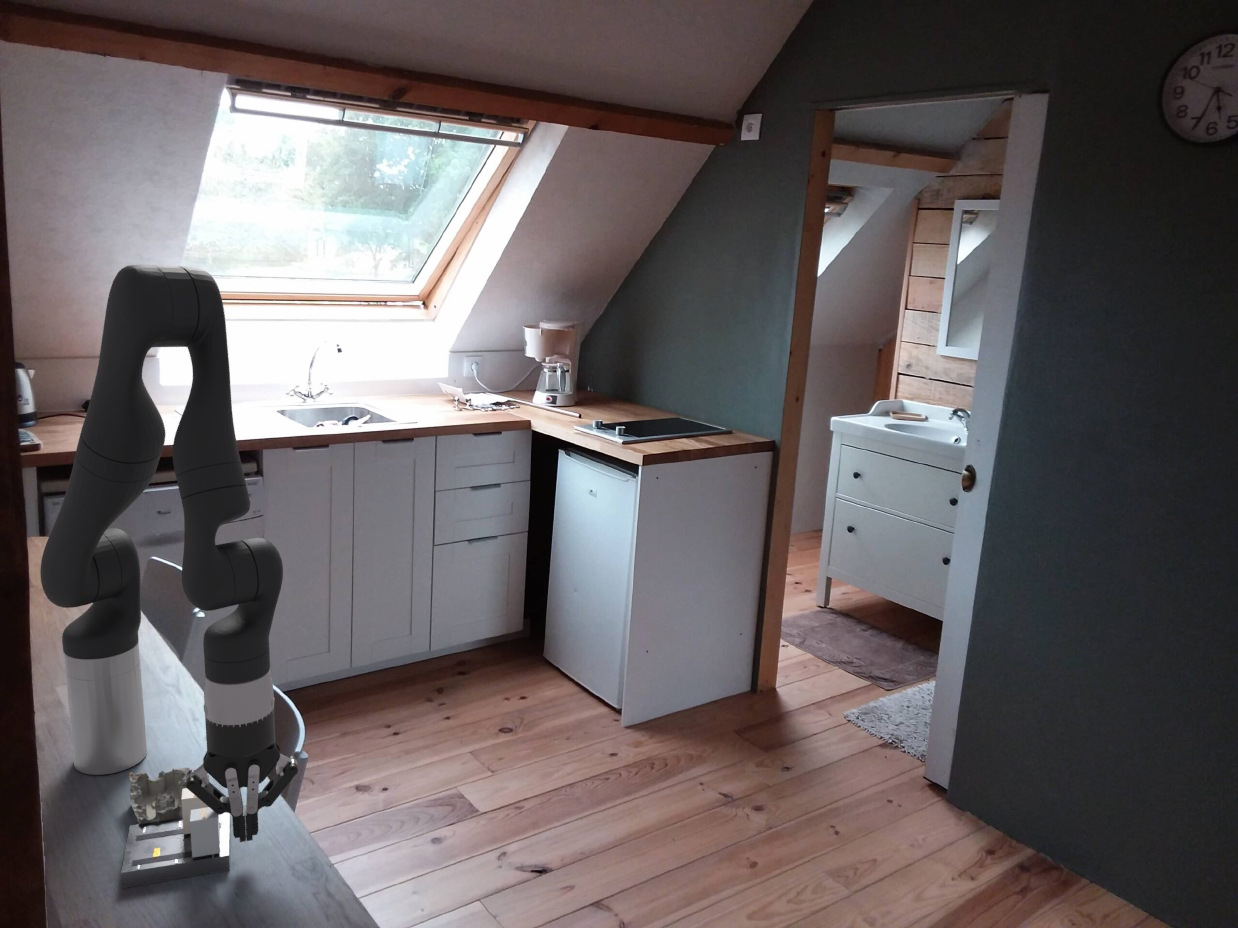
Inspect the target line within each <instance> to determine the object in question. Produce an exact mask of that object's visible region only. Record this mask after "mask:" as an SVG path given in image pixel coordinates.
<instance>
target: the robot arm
mask: <svg viewBox="0 0 1238 928" xmlns="http://www.w3.org/2000/svg"><path fill="white" fill-rule="evenodd" d="M223 302H224V301H223V299H222V294H221V292H220V288H219V286H218V283H217V282H216V280H215V279H214V277H213V276H212V274H210V272H209V271H207V270H205V269H202V268H200V267H199V268H198V267H193V266H181V265H160V264H159V265H158V264H131V265H129V264H128V265H126V266H124V267H123V268H121V269H120V270H119V271H118V272H117V273H116V276H115V277H114V279H113V281H112V284H111V286H110V289H109V292H108V298H107V302H106V309H105V316H104V322H103V323H104V324H103V329H102V336H101V344H100V351H99V358H98V365H97V370H96V375H95V380H94V384H93V387H92V391H91V396H90V399H89V404H88V408H87V411H86V414H85V417H84V421H83V424H82V427H81V431H80V434H79V438H78V442H77V446H76V449H75V455H74V459H73V464H72V468H71V473H70V477H69V480H68V484H67V487H66V491H65V494H64V497H63V501H62V504H61V506H60V509H59V512H58V514H57V517H56V518H55V521H54V524H53V526H52V527H51V532H50V534H49V536H48V539H47V541H46V543H45V546H44V549H43V553H42V557H41V561H40V571H39V572H40V583H41V586H42V590H43V593H44V594H45V597H46V598H47V599H48V600H49V602H51V603H52V604H54V605H55V606H57V607H60V608H65V609H70V608H71V609H72V608H78V607H82V606H87V605H90V604H91V605H90V606H89V608H88V609H87V610H86V611H85V612H83V613H82V614H81V615H80V616H78V617H77V618H75V620H73V621H72V622H70V623H69V624H68V625H67V626H66V627H65V628H64V630H63V631H62V635H61V637H62V638H61V641H62V651H63V652H62V653H63V662H64V663H63V665H64V672H65V681H66V682H65V683H66V693H67V704H68V716H69V725H70V735H71V747H72V757H73V765H74V766H73V767H74V768H75V769H76V771H78V772H80V773H83V774H86V775H90V776H93V775H94V776H95V775H96V776H99V775H100V776H101V775H110V774H115V773H119V772H123V771H125V770H127V769H130V768H132V767H134V766H136V765H138V764H139V763H140V762H142V761H143V760H144V759H145V757H146V756H147V754H148V753H147V751H148V746H147V736H146V735H147V734H146V718H145V707H144V695H143V692H144V691H143V683H142V679H143V678H142V669H141V667H142V665H141V659H140V658H141V656H140V645H139V644H140V643H139V641H140V640H139V630H140V626H141V622H142V608H141V606H142V605H141V603H142V602H141V566H140V565H141V564H140V558H139V554H138V550H137V547H136V545H135V542H134V541H133V539H132V538H131V536H130V535H129V533H127V532H126V531H124V530H123V529H120V528H115V527H112V528H111V527H110V526H111V525H112V524H113V523H114V522H116V520H117V519H119V517H120V516H121V515H122V514H123V513H124V512H126V510H128V508H129V507H130V506H131V505H133V503H134V502H135V501H136V500H137V499H138V498H139V497H140V496H141V495H142V494H143V493H144V491H146V489H147V488H148V486H150V483H151V482H152V480H153V479H154V477H155V474H156V471H157V468H158V466H159V462H160V459H161V455H162V452H163V450H164V446H165V441H166V428H165V424H164V421H163V417H162V415H161V413H160V411H159V410H158V407H157V405H156V404H155V402H154V400H153V399H152V397H151V395H150V393H149V391H148V390H147V387H146V385H145V383H144V379H143V369H144V368H143V367H144V362H145V360H146V356H147V354H148V352H149V351H150V350H151V348H152V349H153V348H187V349H188V353H189V357H190V361H191V367H192V382H191V387H190V391H189V395H188V399H187V401H186V404H185V406H184V410H183V411H182V412H183V413H182V415H181V417H180V420H179V422H178V425H177V428H176V431H175V434H174V439H173V443H172V444H173V445H172V462H173V469H174V470H173V471H174V475H175V478H176V483H177V486H178V492H179V495H180V496H179V497H180V500H181V504H182V510H183V519H184V520H183V521H184V523H183V525H184V526H183V527H184V528H183V529H184V533H183V535H184V537H183V538H184V541H183V543H184V544H183V556H182V566H181V585H182V589H183V592H184V595H185V597H186V599H187V600H188V601H189V602H190V603H191V604H192V606H193V607H195V608H196V609H199V610H201V611H203V612H210V611H211V612H212V611H217V610H221V609H225V608H228V607H229V608H230V607H233V606H236V605H237V606H236V609H235V610H234V611H233V612H231V613H230V614H228V615H226V616H225V617H223V618H221V619H219V620H217V621H215V622H214V623H212V624H211V625H209V626H208V627H207V628H206V629H205V631H204V633H203V641H202V643H203V658H204V674H205V675H204V687H203V702H204V703H203V712H204V717H205V718H204V721H205V736H206V752H205V754H204V756H203V759H202V760H203V761H202V764H201V765H200V766H199V767H197V768H196V769H190V771H188V773H187V777H186V788H187V789H188V790H189V791H191V792H192V793H193V794H194V795H195V796H197V797H198V798H199V799H200V800H201V801H202V802H204V803H205V804H206V805H207V806H208V807H210V808H211V809H212V810H213V811H214V812H215V813H217V814H223V813H224V812H225V813H230V816H231V817H232V818H231V819H232V835H233V837H234V839H239V842H240V843H243V842H250V841H254V840H253V839H254V838H253V836H257V835H258V833H259V811H260V809H262V808H264V807H265V808H269V807H271V806H272V805H273V804H274V803H275V802H276V800H277V799H278V798H279V797H280V795H281V794H282V793H283V791H284V790H285V789H286V788H287V787H288V785H289V784H290V782H292V780H293V778H295V776H296V775H297V774H298V772H299V766H298V758H297V756H295V755H290V756H287V755H284V754H283V753H281V748H280V747H279V745H278V743H277V741H276V730H275V729H276V728H275V727H276V725H275V696H274V684H273V678H272V673H271V659H270V657H271V656H270V655H271V654H270V633H271V628H272V625H273V620H274V615H275V611H276V607H277V604H278V601H279V598H280V597H279V596H280V593H281V590H282V584H283V579H284V567H283V560H282V557H281V554H280V552H279V550H278V548H276V546H275V545H274V544H273V543H272V542H271V541H269V540H268V539H267V538H264V537H251V538H247V539H246V538H245V539H241V540H235V541H230V542H226V543H220V544H219V543H218V544H216V537H217V532H218V530H219V528H220V527H221V526H223V525H226V524H228V523H231V522H234V521H236V520H238V519H240V518H242V517H244V516H246V515H247V514H249V511H250V508H251V500H250V494H249V491H248V490H249V489H248V487H247V482H246V478H245V473H244V469H243V468H244V467H243V465H242V460H241V456H240V452H239V447H238V441H237V439H236V432H235V425H234V417H233V407H232V405H233V404H232V403H233V402H232V391H231V390H232V389H231V375H230V374H231V373H230V361H229V360H230V359H229V347H228V336H227V324H226V323H227V321H226V316H225V308H224V303H223ZM274 767H275V773H274V774H273V776H272V777H271V779H270V780H269V781H268V782H267V784H266V785H265V786H264V788H263V789H262V790H261V791H259V789H260V788H259V787H260V784H262V783H263V782H264V781H265V780H266V778H267V777H268V776H269V774H270V773H271V772H272V771H273V769H274ZM209 775H210V776H209ZM210 777H212V778H213V779H214V780H215V781H216V783H218V784H219V785H220V786H221V787H223V788H225V789H227V795H228V796H227V795H226V794H224V793H223V792H222V791H221V790H220V789H219V788H217V787H216V786H215V785H214V784H213V783H211V781H210ZM242 788H246V805H244V803H243V797H242V795H243V794H242Z"/></svg>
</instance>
